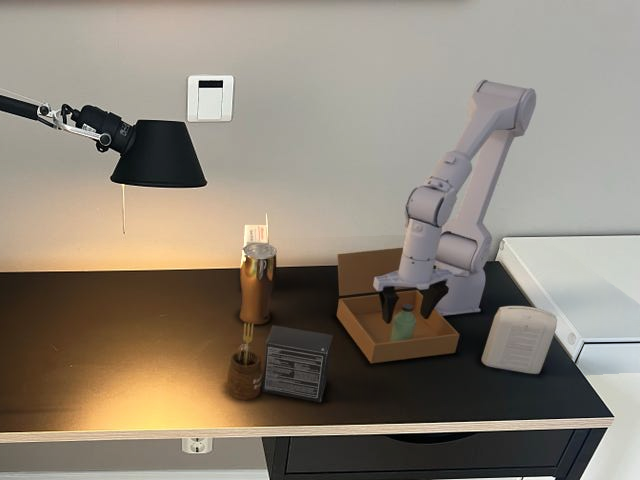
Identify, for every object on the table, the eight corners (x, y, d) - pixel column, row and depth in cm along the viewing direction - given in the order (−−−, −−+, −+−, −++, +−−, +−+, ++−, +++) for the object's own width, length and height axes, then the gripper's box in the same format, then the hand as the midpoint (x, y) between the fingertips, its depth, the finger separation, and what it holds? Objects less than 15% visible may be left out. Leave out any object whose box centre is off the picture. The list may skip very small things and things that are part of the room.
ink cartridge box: (241, 272, 168) (245, 210, 160) (263, 272, 168) (268, 211, 159) (242, 291, 161) (246, 228, 153) (265, 291, 161) (271, 228, 153)
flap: (339, 296, 149) (339, 295, 150) (418, 287, 152) (417, 287, 152) (338, 254, 148) (337, 254, 148) (416, 246, 150) (416, 246, 151)
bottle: (405, 335, 146) (413, 299, 142) (415, 346, 143) (423, 310, 138) (386, 337, 146) (393, 301, 141) (395, 348, 142) (402, 312, 138)
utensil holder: (225, 399, 131) (228, 342, 124) (228, 378, 136) (231, 322, 129) (259, 402, 130) (264, 345, 123) (261, 381, 135) (266, 324, 128)
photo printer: (539, 364, 139) (559, 306, 131) (542, 377, 135) (562, 319, 128) (480, 354, 141) (497, 298, 134) (481, 367, 138) (498, 310, 131)
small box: (327, 382, 135) (334, 333, 129) (321, 404, 130) (328, 354, 124) (268, 371, 138) (273, 322, 131) (260, 392, 133) (265, 342, 126)
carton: (336, 317, 152) (339, 298, 150) (413, 308, 155) (417, 289, 152) (370, 364, 139) (374, 345, 136) (454, 354, 141) (459, 334, 139)
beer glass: (271, 308, 155) (277, 243, 147) (272, 326, 150) (278, 259, 141) (237, 307, 156) (241, 241, 147) (237, 325, 150) (241, 258, 142)
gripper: (390, 268, 129) (378, 334, 137) (468, 260, 131) (451, 325, 139) (373, 249, 135) (362, 314, 143) (448, 242, 137) (433, 306, 145)
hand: (405, 318), depth 141 cm, fingers open, 7 cm apart
